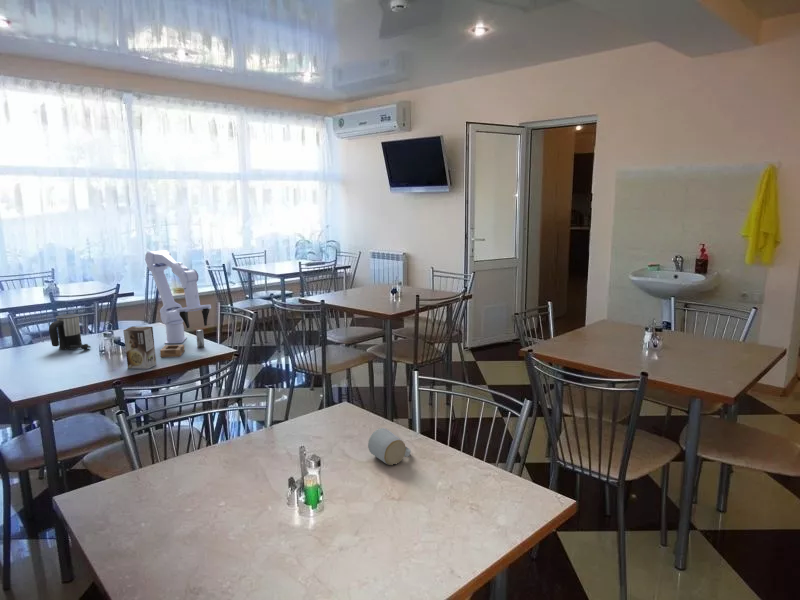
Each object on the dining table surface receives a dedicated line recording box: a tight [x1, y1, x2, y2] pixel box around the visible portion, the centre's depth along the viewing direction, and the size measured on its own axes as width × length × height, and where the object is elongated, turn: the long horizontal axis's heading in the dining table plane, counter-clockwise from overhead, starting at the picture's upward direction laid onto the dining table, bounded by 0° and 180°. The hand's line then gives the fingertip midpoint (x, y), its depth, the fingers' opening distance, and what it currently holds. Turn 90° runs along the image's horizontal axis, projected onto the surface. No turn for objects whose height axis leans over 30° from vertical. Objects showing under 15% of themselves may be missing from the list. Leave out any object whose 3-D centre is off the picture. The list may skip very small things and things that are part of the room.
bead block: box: [159, 344, 186, 358], centre depth 233 cm, size 8×8×3 cm
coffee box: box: [122, 325, 157, 370], centre depth 215 cm, size 9×6×16 cm
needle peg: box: [195, 329, 205, 349], centre depth 243 cm, size 3×3×8 cm
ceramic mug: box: [367, 427, 412, 466], centre depth 141 cm, size 11×8×8 cm
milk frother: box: [48, 313, 92, 351], centre depth 240 cm, size 14×16×15 cm
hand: (197, 326), depth 240 cm, fingers open, 7 cm apart
